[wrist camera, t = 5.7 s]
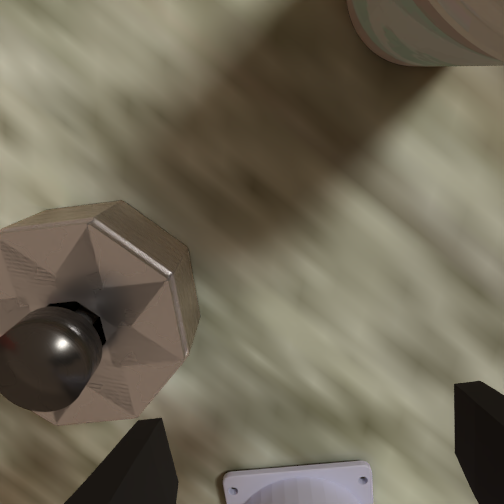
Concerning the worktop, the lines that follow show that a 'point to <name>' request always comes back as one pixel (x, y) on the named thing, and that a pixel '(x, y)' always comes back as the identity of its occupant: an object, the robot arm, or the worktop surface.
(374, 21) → the coffee cup
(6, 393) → the plunger
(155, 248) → the grey octagonal hollow piece
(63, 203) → the worktop surface
